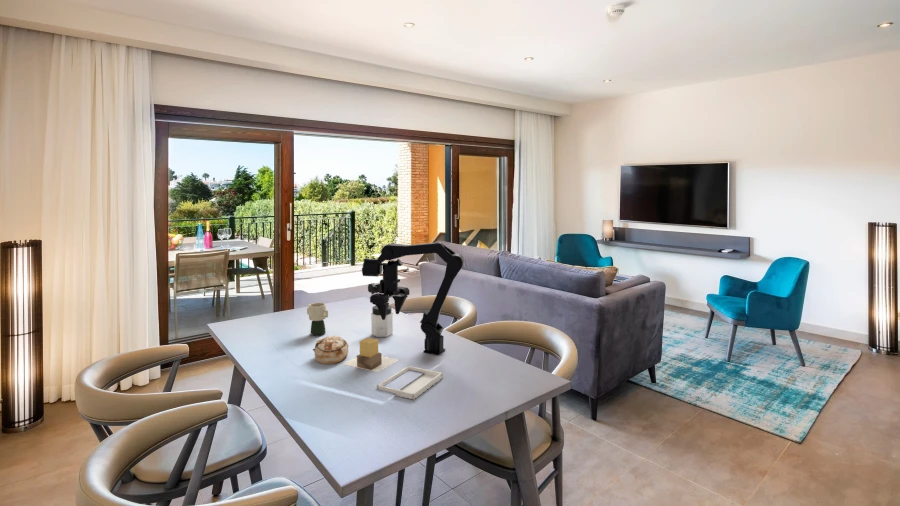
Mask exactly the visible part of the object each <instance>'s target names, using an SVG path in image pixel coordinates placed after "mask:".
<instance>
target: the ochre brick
mask: <svg viewBox="0 0 900 506" xmlns="http://www.w3.org/2000/svg"><path fill="white" fill-rule="evenodd" d="M378 353H379V339H376V338H372V337H366V338H364V339H362V340H360V341H359V354H360V355H361V356H366V357H370V358H371V357H372V356H374V355H376V354H378Z"/></svg>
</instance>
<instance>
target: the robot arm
mask: <svg viewBox="0 0 900 506" xmlns="http://www.w3.org/2000/svg"><path fill="white" fill-rule="evenodd" d="M426 254H429V255H431V254H436V255H438V257H439V258H440V259H441V260H442V261H444V262H445V264H446V267H445V270H444V271H445V272H444V277H443V279H442V282H441V283H440V287H439V289H438V291H437V293H436V296H435V298H434V300H433V303H432V306H431V308H430V309H425V311H424V313H423V315H422V318H421V320H420V321H419V323H420V329H421V330H420V331H422V332H423V333H424V335H425V338H424V345H423V346H424V350H423V351H422V352H423V353H426V354H429V355H431V354H432V355H437V356H438V355H440V354H442V353H443V352H445V351H446V348H445V347H444V340H445V339H444V335H443V334H442V333H443V330H444V327H443V326H442V325H441V324H440V323H439V320H440V316H441V310H442V308H443V305H444V304H445V301H446V298H447V296H448V293H449V291H450V289H451V287H452V285H453V282H454V279H455V278H456V277H457V276H458V274H459V273H460V271H461V269H462V268H463V266H464V263H465V258H464V256H463V255H462V254H460V253H458V252H457V253H456V252H455V251H454V250H453V249H450V248H449V247H448V246H447V245H445V244H444V243H443V242H442V241H436V242H428V243H426V242H425V243H416V244H400V243H388V244H386V245H384V246H383V247H382V248H381V251H380V255H379V256H378V257H377V258H368V257H365V258H364V259H363V264H362V268H361V275H362V277H376V278H378V277H379V276H380V275H382V279H380V280H379V283H378V284H375V283H374V282H373V283H369V284H368V285H367V291H368V292H369V293H370V294H371V295H370V297H369V303H371V304H372V305H374V306H377V307H378V310H379V312H380V315H381V318H382V320H385V318H386V315H387V310H388V306H390V303H389V301H390V298H392V299H393V301H394V310H395V314H396V315H399V314H400V312H401V310H402V308H403V305H404V303H405V302H406V300H407V298H408V296H410V288H408V287H405V286H399V283H400V282H401V279H400V278H399V268H398V267H401V266H403V265H404V262H402V260H400V258H403V257H406V256H414V255H415V256H416V255H418V256H419V255H426ZM386 261H387V262H386Z"/></svg>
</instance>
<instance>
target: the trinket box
mask: <svg viewBox="0 0 900 506" xmlns="http://www.w3.org/2000/svg"><path fill="white" fill-rule="evenodd" d="M348 344H349V343H348V342H347V341H346V340H345V339H344V338H342V337H341V336H338V335H329V336H326V337H323V338H320V339H319V340H317V341H316V343H315V346H314V348H313V349H312V351H313V352H314V356H315V357H314V358H315V359H316V361H317V362H318V363H320V364H321V365H322V364H323V365H333V364H338V363H341V362H342V361H344V360H345V359H346V358H347V356H348V353H349V345H348Z"/></svg>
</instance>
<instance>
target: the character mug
mask: <svg viewBox="0 0 900 506" xmlns="http://www.w3.org/2000/svg"><path fill="white" fill-rule="evenodd" d="M306 314H307V315H308V319H309V321H311V323H310V334H311V335H313V336H318V335H320V334H321V335H322V334H326V325H325V319H326V318H328V317H329V310H328V309H327V304H326V303H324V302H313V303H309V304H308V306H307V308H306Z"/></svg>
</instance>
